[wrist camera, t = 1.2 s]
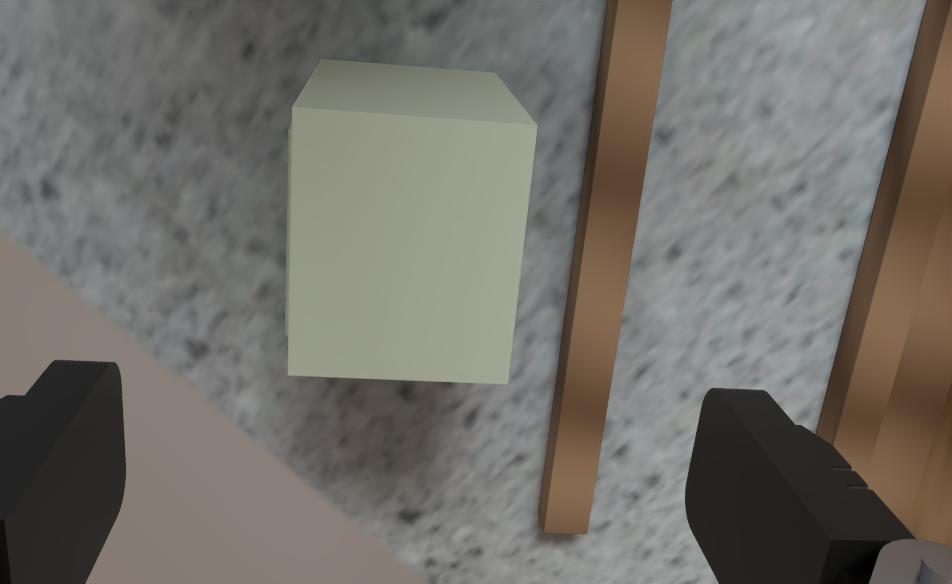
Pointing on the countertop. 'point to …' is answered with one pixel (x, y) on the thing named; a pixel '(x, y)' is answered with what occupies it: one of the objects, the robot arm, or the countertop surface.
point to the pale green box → (405, 223)
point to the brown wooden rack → (869, 313)
